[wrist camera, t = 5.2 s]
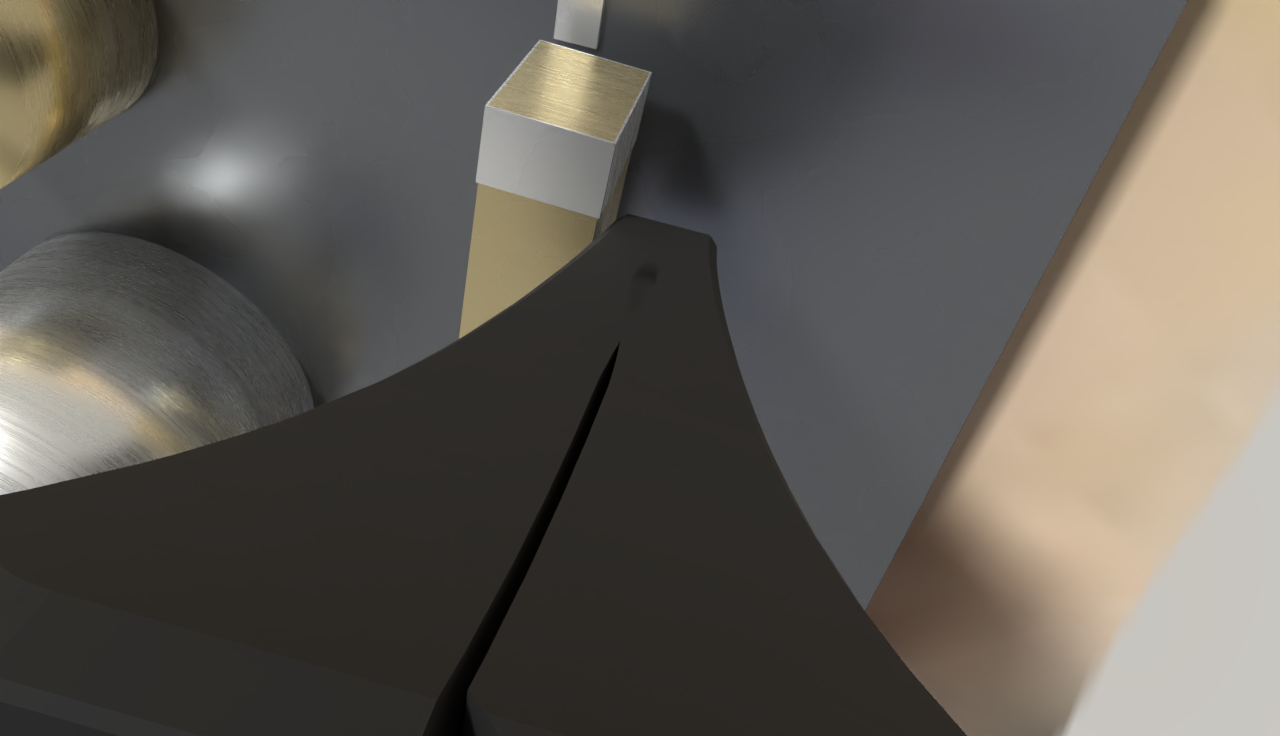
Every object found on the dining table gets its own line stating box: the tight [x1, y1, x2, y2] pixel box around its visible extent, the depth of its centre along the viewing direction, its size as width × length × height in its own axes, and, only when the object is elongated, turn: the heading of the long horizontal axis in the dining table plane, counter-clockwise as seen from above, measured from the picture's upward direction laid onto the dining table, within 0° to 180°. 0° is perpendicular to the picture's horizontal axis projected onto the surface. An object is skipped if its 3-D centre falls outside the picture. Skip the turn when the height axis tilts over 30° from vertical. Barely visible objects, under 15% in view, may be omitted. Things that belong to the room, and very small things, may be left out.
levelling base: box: [0, 0, 1188, 611], centre depth 13 cm, size 18×16×7 cm
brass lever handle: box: [459, 40, 652, 339], centre depth 13 cm, size 11×4×3 cm, turn 167°
